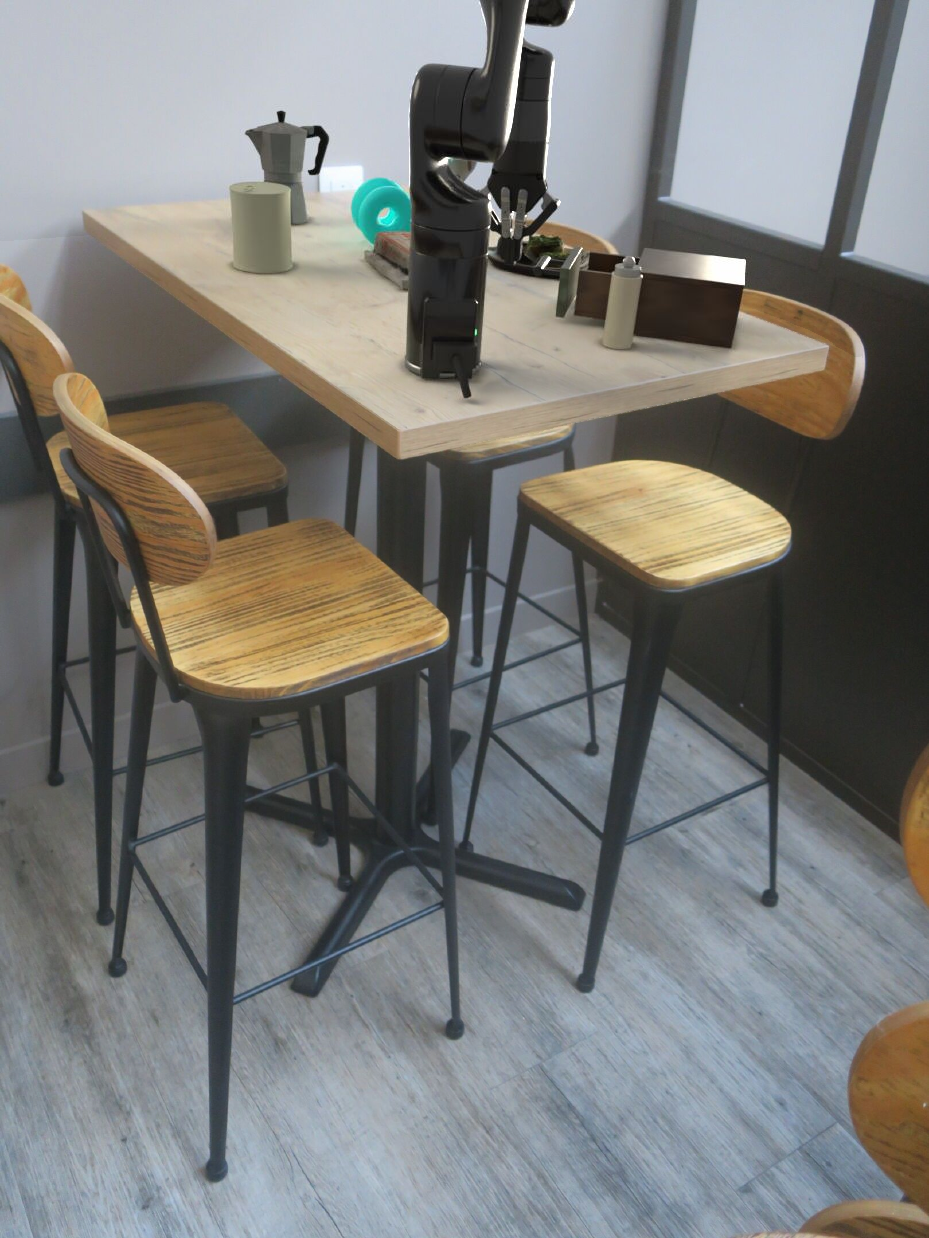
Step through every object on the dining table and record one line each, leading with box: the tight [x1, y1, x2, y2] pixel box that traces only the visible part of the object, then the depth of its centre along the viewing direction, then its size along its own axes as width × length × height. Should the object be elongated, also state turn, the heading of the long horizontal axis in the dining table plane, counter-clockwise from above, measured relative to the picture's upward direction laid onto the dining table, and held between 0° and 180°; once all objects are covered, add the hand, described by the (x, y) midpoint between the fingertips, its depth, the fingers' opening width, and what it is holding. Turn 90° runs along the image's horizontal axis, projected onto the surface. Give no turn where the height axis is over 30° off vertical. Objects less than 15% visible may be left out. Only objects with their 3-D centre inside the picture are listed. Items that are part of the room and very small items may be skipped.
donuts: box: [350, 177, 411, 246], centre depth 178 cm, size 10×10×10 cm
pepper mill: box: [601, 255, 642, 350], centre depth 139 cm, size 4×4×12 cm
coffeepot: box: [244, 110, 330, 226], centre depth 187 cm, size 15×9×18 cm, turn 118°
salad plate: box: [488, 233, 590, 279], centre depth 175 cm, size 19×18×5 cm
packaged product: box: [363, 231, 410, 290], centre depth 164 cm, size 18×5×10 cm
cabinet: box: [633, 247, 746, 349], centre depth 149 cm, size 15×15×9 cm
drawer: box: [533, 246, 641, 321], centre depth 151 cm, size 18×13×7 cm
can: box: [228, 181, 294, 274], centre depth 160 cm, size 9×9×12 cm
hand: (510, 263), depth 152 cm, fingers closed
